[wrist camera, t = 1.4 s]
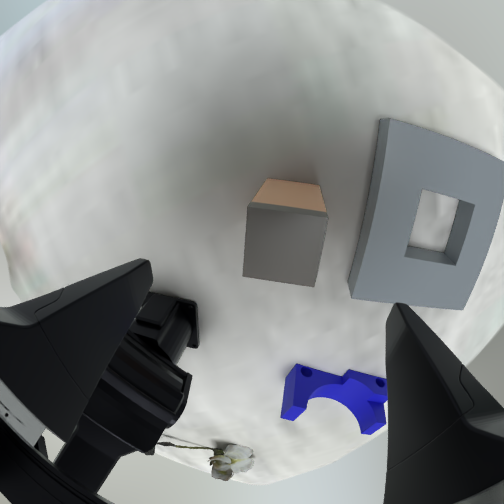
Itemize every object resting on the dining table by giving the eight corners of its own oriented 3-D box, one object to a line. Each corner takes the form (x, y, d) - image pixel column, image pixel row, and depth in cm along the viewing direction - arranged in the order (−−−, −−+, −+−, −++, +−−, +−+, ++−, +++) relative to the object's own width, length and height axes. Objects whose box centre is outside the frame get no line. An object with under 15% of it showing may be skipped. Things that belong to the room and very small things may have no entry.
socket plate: (453, 295, 22) (462, 310, 19) (347, 282, 23) (351, 298, 21) (494, 159, 15) (510, 164, 13) (380, 119, 17) (390, 118, 15)
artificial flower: (146, 414, 45) (129, 446, 36) (256, 431, 45) (255, 469, 35) (152, 440, 47) (138, 470, 37) (253, 455, 46) (251, 490, 37)
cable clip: (387, 378, 28) (394, 417, 23) (366, 397, 30) (370, 434, 25) (302, 354, 28) (299, 398, 23) (285, 376, 30) (280, 417, 25)
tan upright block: (311, 233, 22) (314, 287, 15) (262, 226, 22) (242, 276, 15) (319, 185, 20) (328, 218, 13) (267, 178, 21) (247, 206, 13)
